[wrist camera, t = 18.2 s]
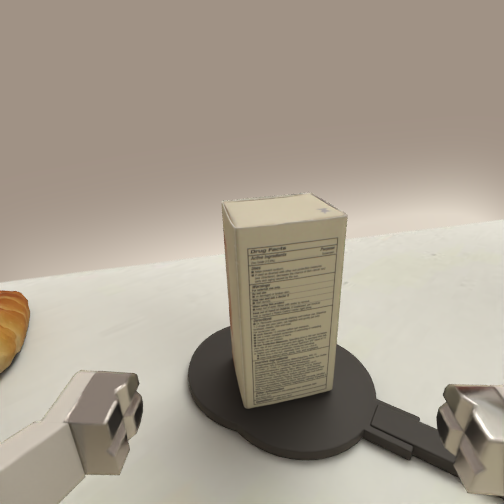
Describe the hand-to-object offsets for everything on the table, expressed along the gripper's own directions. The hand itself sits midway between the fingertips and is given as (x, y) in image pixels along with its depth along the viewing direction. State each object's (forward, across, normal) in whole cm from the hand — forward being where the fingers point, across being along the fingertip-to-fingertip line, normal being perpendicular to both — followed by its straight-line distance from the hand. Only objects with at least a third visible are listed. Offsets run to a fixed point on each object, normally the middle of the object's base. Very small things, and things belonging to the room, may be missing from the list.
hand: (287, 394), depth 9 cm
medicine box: (+8, 0, +8) cm, 11 cm away
